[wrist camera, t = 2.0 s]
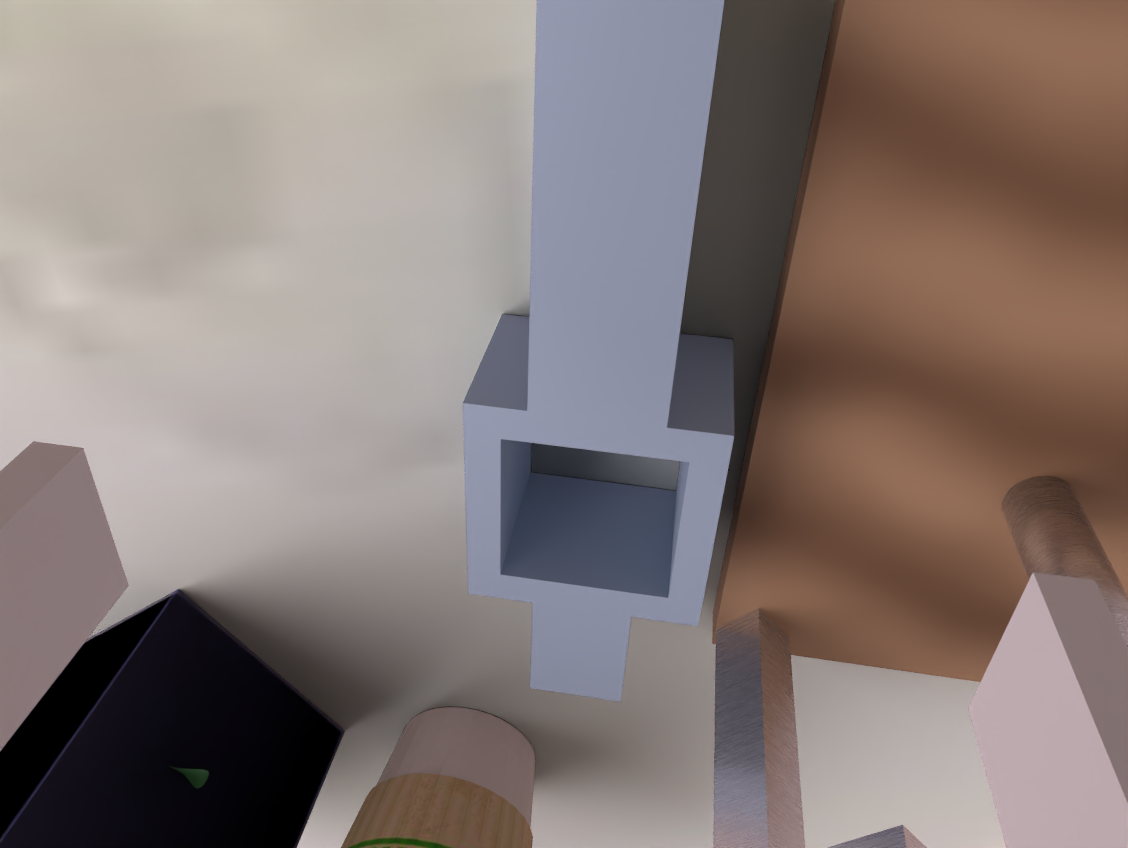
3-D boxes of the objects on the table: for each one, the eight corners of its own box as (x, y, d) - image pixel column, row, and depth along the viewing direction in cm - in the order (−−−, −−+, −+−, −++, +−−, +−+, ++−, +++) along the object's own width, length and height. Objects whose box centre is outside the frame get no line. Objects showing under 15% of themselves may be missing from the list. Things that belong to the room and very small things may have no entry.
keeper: (851, 530, 30) (911, 874, 20) (880, 563, 30) (952, 911, 21) (716, 597, 32) (712, 928, 23) (746, 626, 33) (753, 960, 23)
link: (687, 599, 33) (682, 711, 29) (501, 573, 33) (470, 679, 29) (799, -36, 21) (816, 2, 17) (503, -56, 21) (450, -24, 17)
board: (847, -57, 20) (855, -48, 19) (1780, 5, 18) (1855, 19, 17) (712, 612, 33) (712, 643, 32) (1257, 689, 31) (1279, 724, 30)
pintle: (1001, 442, 27) (1111, 695, 19) (1069, 449, 27) (1209, 709, 19) (980, 492, 28) (1077, 751, 20) (1046, 500, 28) (1168, 764, 20)
